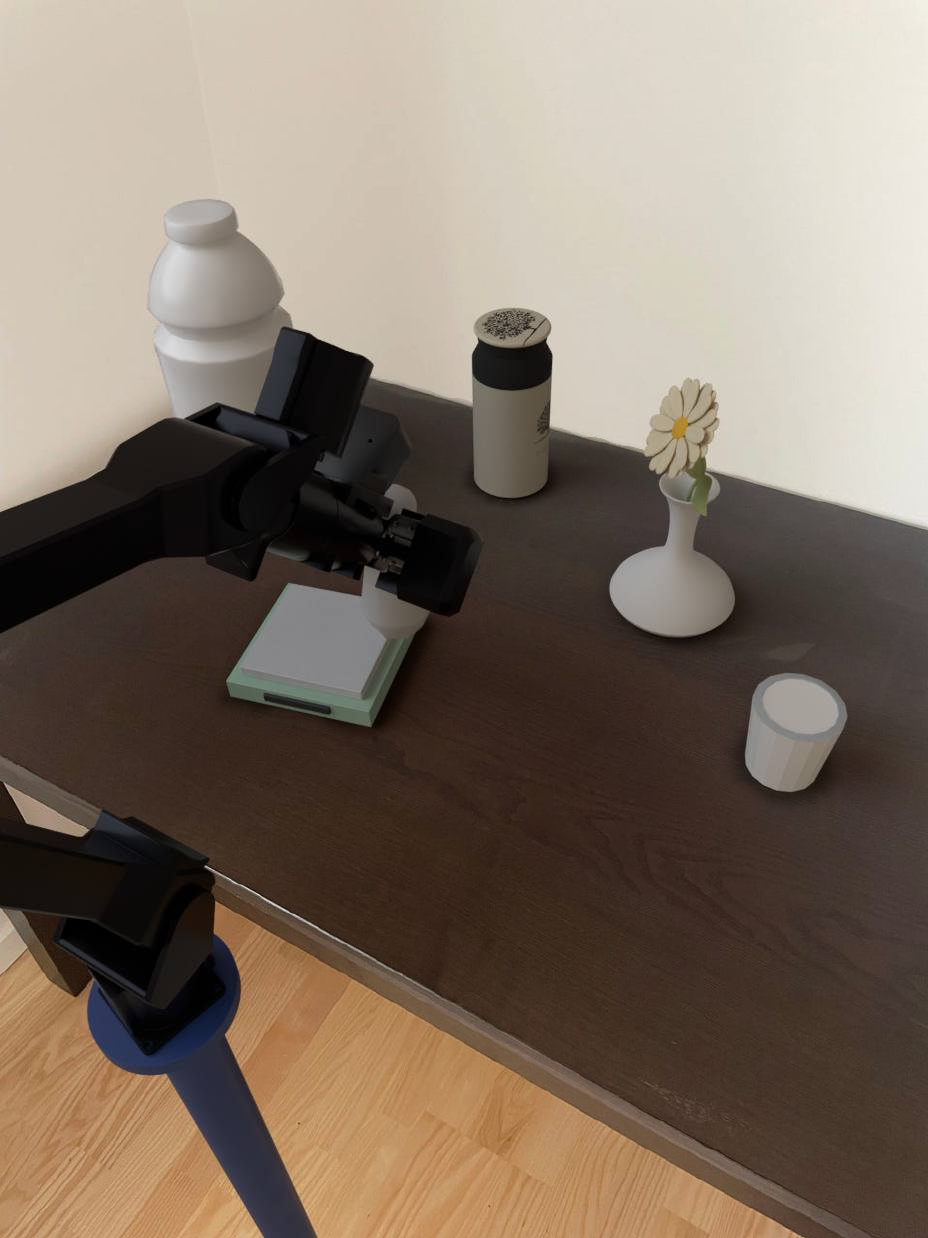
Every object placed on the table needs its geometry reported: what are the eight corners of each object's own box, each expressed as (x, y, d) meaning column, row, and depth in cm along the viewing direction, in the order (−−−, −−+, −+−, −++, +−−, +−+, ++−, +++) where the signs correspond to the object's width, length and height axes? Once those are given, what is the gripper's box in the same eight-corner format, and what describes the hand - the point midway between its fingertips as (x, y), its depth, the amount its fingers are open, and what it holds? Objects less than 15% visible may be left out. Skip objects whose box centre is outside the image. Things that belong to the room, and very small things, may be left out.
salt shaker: (447, 618, 81) (442, 491, 72) (401, 658, 77) (391, 529, 68) (394, 590, 83) (384, 463, 74) (348, 626, 80) (331, 499, 71)
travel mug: (459, 484, 105) (454, 330, 93) (500, 449, 110) (500, 298, 97) (522, 509, 102) (525, 353, 89) (560, 472, 106) (569, 318, 94)
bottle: (268, 415, 116) (223, 172, 97) (338, 463, 109) (304, 209, 89) (164, 463, 109) (93, 211, 90) (231, 517, 102) (170, 256, 82)
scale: (370, 730, 81) (366, 706, 79) (228, 699, 84) (221, 675, 81) (420, 622, 90) (418, 598, 88) (291, 597, 93) (286, 574, 91)
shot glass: (828, 741, 79) (850, 683, 74) (822, 808, 74) (845, 751, 69) (742, 721, 80) (758, 663, 76) (731, 785, 76) (747, 728, 71)
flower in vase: (613, 559, 96) (640, 323, 78) (732, 572, 94) (785, 334, 76) (600, 652, 87) (626, 409, 69) (730, 670, 85) (791, 424, 67)
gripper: (468, 433, 58) (543, 488, 73) (227, 361, 65) (339, 425, 80) (405, 608, 59) (492, 628, 73) (173, 517, 66) (294, 553, 80)
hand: (402, 552), depth 77 cm, fingers closed on salt shaker, 3 cm apart
